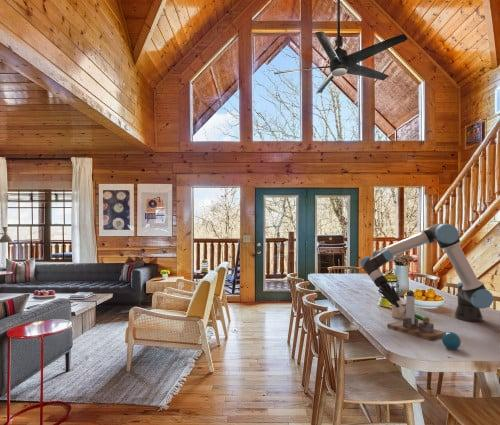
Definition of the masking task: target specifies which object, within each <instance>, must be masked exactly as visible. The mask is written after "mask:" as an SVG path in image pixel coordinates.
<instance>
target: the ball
mask: <svg viewBox="0 0 500 425" xmlns="http://www.w3.org/2000/svg"><path fill="white" fill-rule="evenodd" d="M445 332H446V331H445ZM441 342H442V344H443V345H444V347H446V348H447V349H449V350H457V349H459V348H460V346H461V343H462V339H461V337H460V336H459V335H458V334H457V333H455V332H453V331H447V332H446V333H445V334H444V335H443V336H442V337H441Z"/></svg>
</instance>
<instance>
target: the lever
mask: <svg viewBox="0 0 500 425" xmlns="http://www.w3.org/2000/svg"><path fill="white" fill-rule="evenodd" d="M405 297H406V298H405V299H406V302H405V303H406V319H410V320H412V325H413V324H415V318H416V317H415V313H416V312H415V292H414V291H413V290H411V289H410V290H409V289H408V290H407V291H406V296H405Z"/></svg>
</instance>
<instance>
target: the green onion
mask: <svg viewBox="0 0 500 425" xmlns="http://www.w3.org/2000/svg"><path fill="white" fill-rule="evenodd" d="M425 317H426V318H428V319H429V320H430V318H429V317H427V316H424V315H422V314H419V313H418V312H415V318H418V320H422V321H423V318H425Z"/></svg>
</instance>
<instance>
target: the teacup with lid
mask: <svg viewBox="0 0 500 425" xmlns="http://www.w3.org/2000/svg"><path fill="white" fill-rule="evenodd" d="M399 302H400V303H401V305H402V306H403V307H404V309H405V310H406V302H405V301H403V300H401V298H400V300H399ZM391 316H392V318H395V319H402V320H403V319H404V318H406V319H407V317H406V311H404V312H403V313H401V312H400V311H399V310H398V308H397V307H396V306H395V305H394V304H391Z"/></svg>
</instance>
